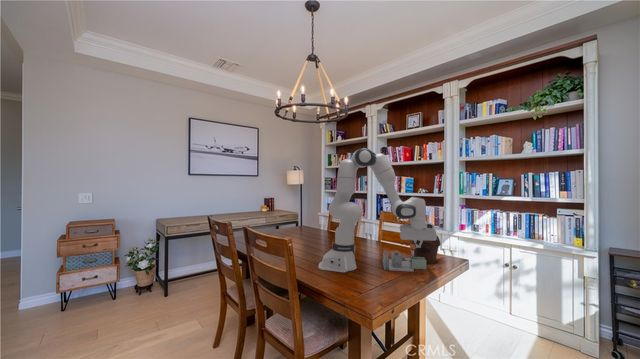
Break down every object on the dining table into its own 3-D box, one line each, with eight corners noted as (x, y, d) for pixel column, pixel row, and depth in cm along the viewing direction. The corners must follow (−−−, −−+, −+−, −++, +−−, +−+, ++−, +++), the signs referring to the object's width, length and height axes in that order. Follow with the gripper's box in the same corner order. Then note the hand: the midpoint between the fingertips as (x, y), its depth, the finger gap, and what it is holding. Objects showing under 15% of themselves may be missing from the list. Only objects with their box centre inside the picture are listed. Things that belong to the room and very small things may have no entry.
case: (432, 255, 183) (432, 229, 182) (446, 265, 163) (445, 235, 162) (406, 255, 183) (406, 229, 183) (416, 265, 163) (416, 236, 163)
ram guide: (411, 268, 157) (411, 259, 157) (410, 265, 163) (410, 256, 163) (426, 269, 156) (426, 260, 155) (424, 265, 161) (424, 257, 161)
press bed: (384, 269, 154) (384, 259, 154) (382, 261, 170) (382, 251, 170) (413, 271, 152) (413, 260, 152) (408, 262, 168) (408, 253, 168)
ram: (402, 261, 159) (402, 244, 159) (401, 260, 162) (401, 243, 162) (416, 262, 158) (416, 245, 158) (415, 260, 161) (415, 243, 161)
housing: (392, 265, 158) (393, 252, 158) (391, 261, 166) (391, 249, 166) (401, 265, 157) (401, 253, 157) (399, 261, 165) (400, 249, 165)
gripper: (400, 224, 157) (400, 248, 158) (437, 225, 154) (437, 249, 154) (399, 223, 164) (399, 245, 164) (434, 223, 160) (434, 246, 160)
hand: (418, 247), depth 159 cm, fingers closed
